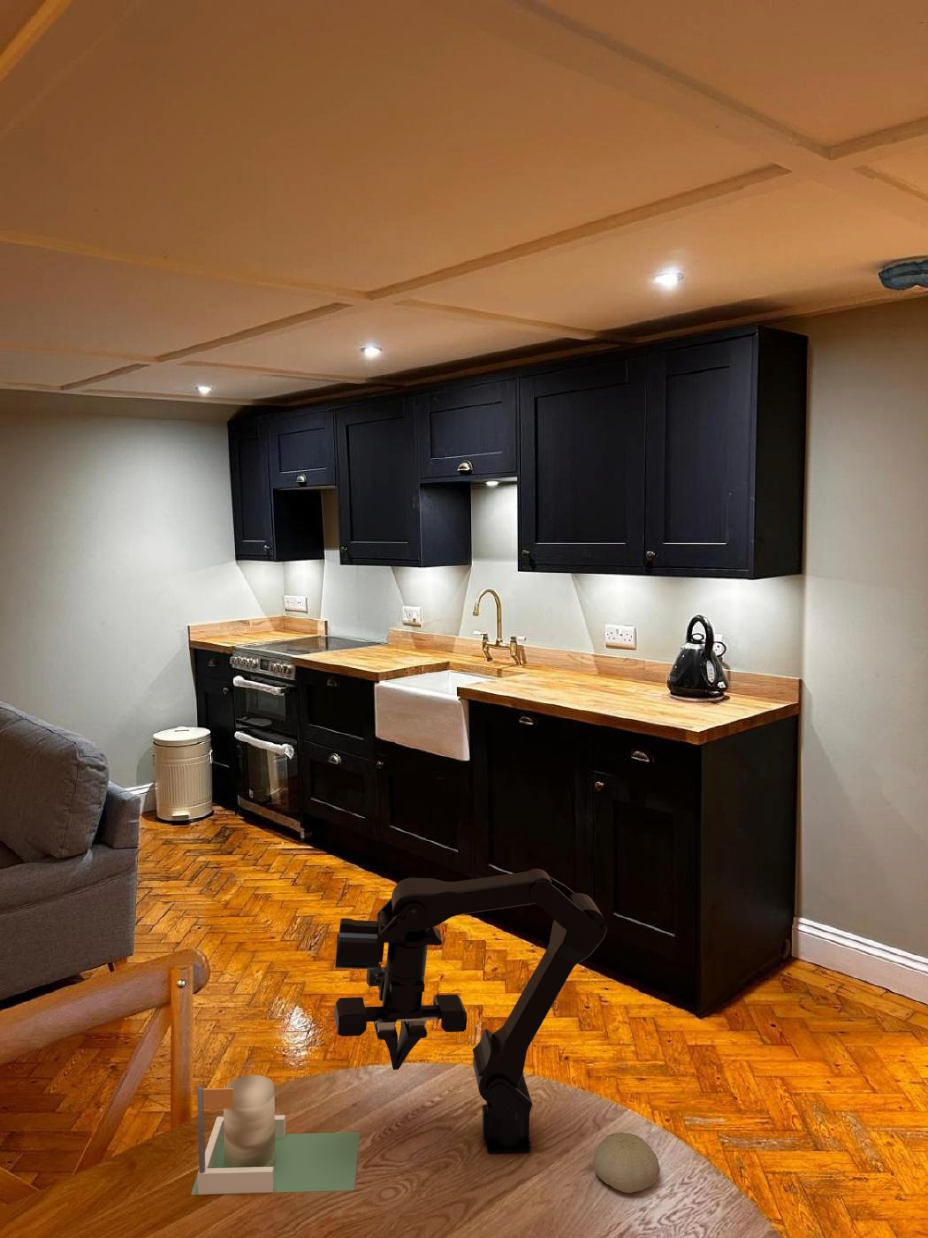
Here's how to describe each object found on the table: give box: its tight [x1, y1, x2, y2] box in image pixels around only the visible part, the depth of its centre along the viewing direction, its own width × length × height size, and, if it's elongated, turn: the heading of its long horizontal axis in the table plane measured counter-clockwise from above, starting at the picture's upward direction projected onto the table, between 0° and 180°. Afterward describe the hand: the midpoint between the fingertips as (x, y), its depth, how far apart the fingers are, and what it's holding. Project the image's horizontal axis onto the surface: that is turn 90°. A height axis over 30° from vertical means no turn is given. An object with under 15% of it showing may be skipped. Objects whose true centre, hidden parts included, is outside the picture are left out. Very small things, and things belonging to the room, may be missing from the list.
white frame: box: [196, 1085, 287, 1195], centre depth 130 cm, size 10×12×15 cm
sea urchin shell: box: [593, 1132, 661, 1194], centre depth 131 cm, size 9×8×8 cm
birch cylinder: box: [223, 1074, 276, 1168], centre depth 131 cm, size 7×7×11 cm
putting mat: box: [190, 1131, 361, 1196], centre depth 132 cm, size 22×12×1 cm, turn 93°
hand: (395, 1068), depth 136 cm, fingers closed
